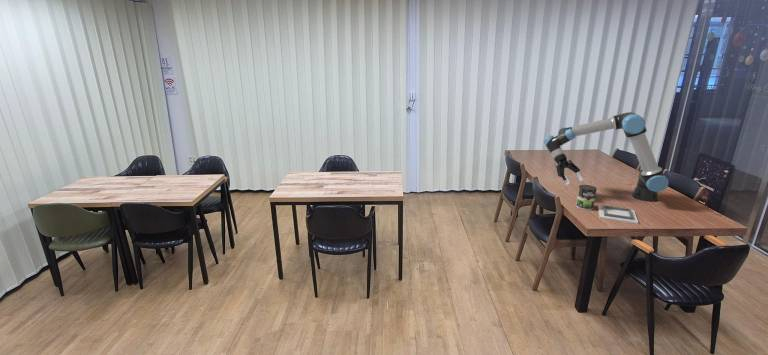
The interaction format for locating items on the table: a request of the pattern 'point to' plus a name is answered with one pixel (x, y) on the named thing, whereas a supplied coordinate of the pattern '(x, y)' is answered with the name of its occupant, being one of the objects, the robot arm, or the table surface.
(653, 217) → the table surface
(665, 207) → the table surface
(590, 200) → the coffee can
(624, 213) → the base board
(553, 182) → the table surface
